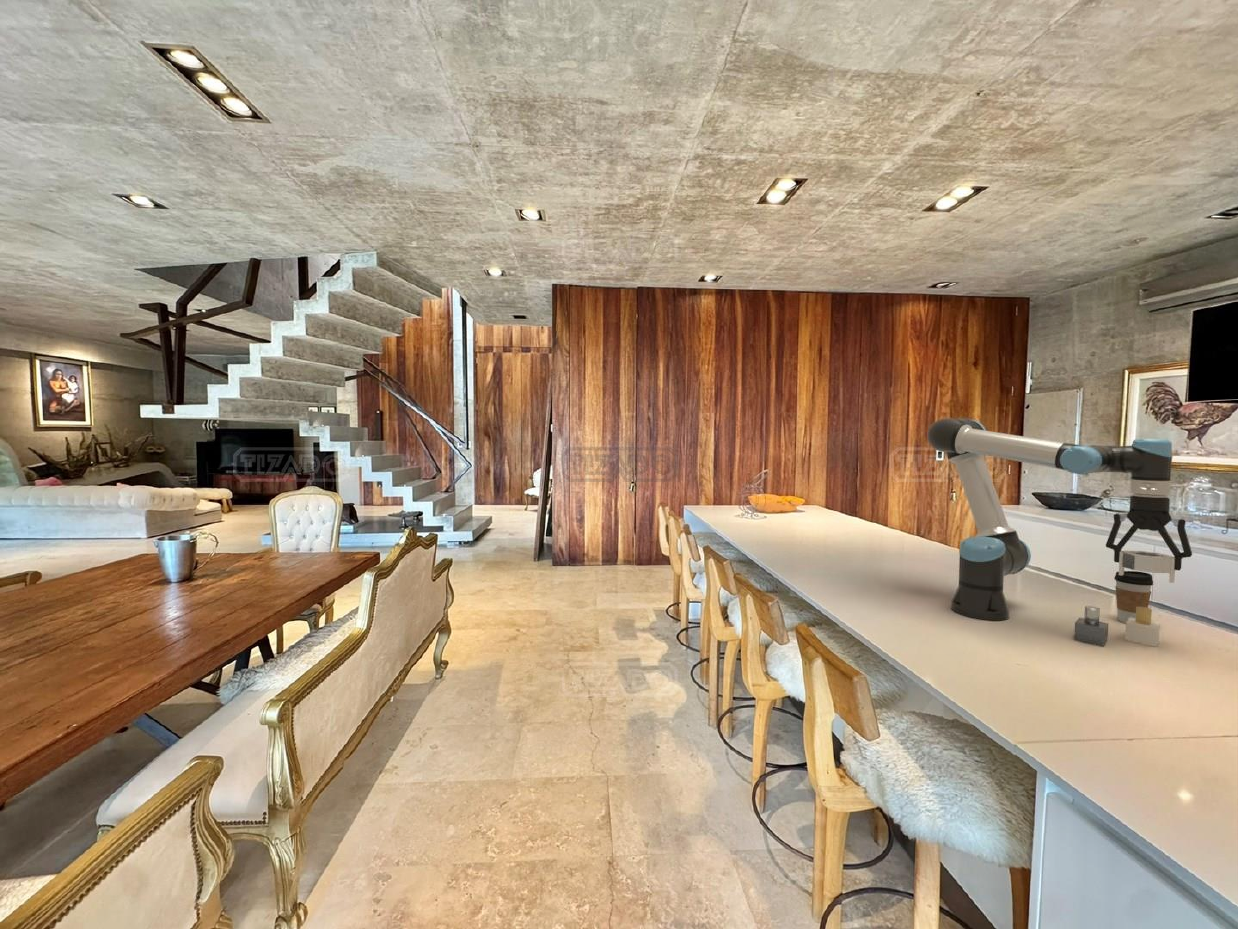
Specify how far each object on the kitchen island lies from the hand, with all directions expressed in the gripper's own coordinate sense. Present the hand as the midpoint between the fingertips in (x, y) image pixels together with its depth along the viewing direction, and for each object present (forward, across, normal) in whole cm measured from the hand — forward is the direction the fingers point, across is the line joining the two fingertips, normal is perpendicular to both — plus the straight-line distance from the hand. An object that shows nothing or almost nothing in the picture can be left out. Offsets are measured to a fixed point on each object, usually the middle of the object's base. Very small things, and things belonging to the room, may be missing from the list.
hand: (1145, 578), depth 142 cm
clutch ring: (-3, 0, 0) cm, 3 cm away
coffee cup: (+18, -4, +18) cm, 26 cm away
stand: (+17, -9, -11) cm, 22 cm away
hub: (+18, 0, 0) cm, 18 cm away
